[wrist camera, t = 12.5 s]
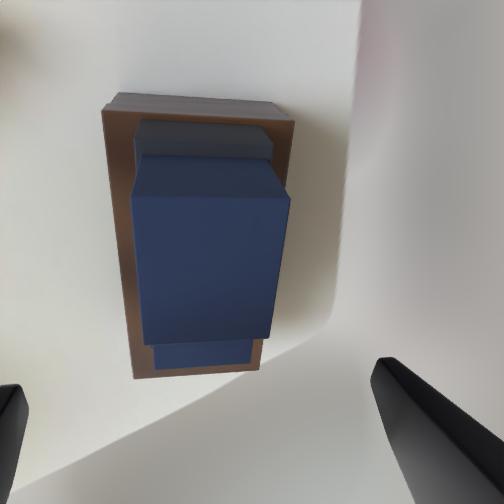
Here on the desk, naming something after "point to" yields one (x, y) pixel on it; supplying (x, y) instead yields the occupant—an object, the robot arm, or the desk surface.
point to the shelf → (122, 179)
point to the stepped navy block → (206, 240)
